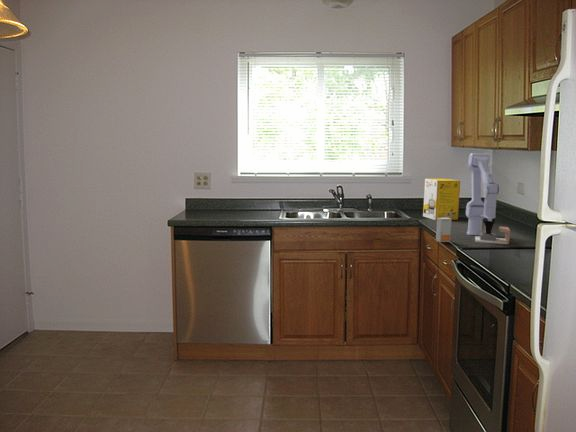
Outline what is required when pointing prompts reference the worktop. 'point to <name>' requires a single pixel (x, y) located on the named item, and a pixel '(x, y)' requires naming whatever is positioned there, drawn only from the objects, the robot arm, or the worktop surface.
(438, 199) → the packaging box
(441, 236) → the skincare box
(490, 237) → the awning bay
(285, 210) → the worktop surface
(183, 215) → the worktop surface
